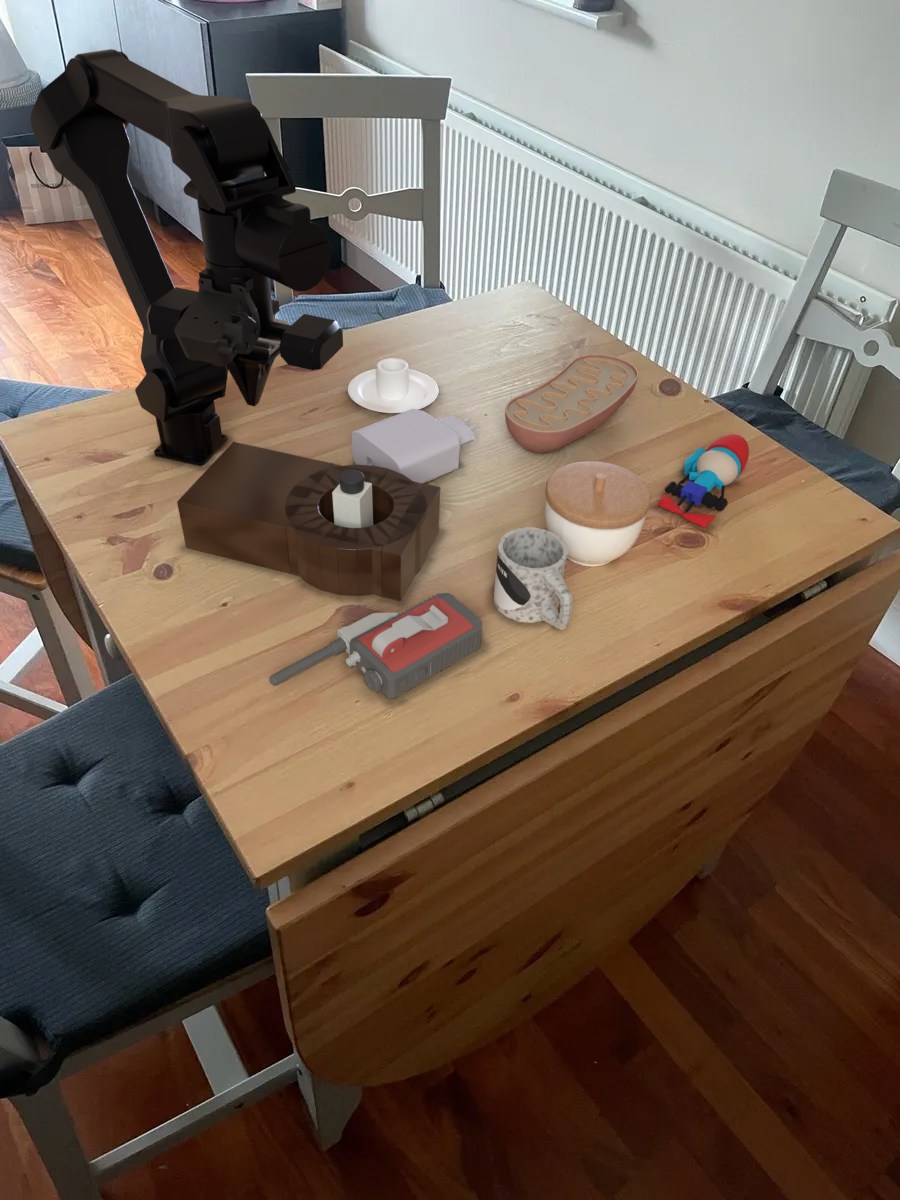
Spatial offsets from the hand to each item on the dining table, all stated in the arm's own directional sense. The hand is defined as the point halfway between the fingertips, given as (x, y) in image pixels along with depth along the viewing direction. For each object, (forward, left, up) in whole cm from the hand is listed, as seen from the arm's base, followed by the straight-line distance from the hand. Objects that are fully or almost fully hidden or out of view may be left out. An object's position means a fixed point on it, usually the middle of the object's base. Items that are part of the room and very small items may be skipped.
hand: (253, 404), depth 95 cm
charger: (+14, +14, -12) cm, 23 cm away
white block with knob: (+12, -5, -7) cm, 15 cm away
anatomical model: (+29, +28, -12) cm, 42 cm away
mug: (+33, -8, -12) cm, 36 cm away
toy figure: (+47, +20, -12) cm, 53 cm away
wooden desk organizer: (+8, -5, -12) cm, 15 cm away
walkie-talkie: (+22, -20, -12) cm, 32 cm away
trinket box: (+36, +4, -12) cm, 39 cm away
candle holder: (+5, +27, -12) cm, 30 cm away
